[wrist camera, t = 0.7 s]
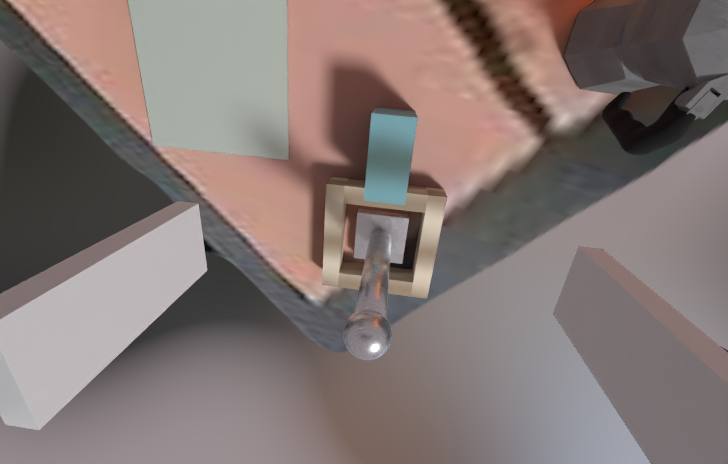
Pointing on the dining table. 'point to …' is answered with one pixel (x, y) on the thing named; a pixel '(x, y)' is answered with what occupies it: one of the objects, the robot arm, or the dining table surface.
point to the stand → (374, 280)
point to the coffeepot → (652, 62)
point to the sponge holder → (384, 205)
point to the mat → (215, 74)
